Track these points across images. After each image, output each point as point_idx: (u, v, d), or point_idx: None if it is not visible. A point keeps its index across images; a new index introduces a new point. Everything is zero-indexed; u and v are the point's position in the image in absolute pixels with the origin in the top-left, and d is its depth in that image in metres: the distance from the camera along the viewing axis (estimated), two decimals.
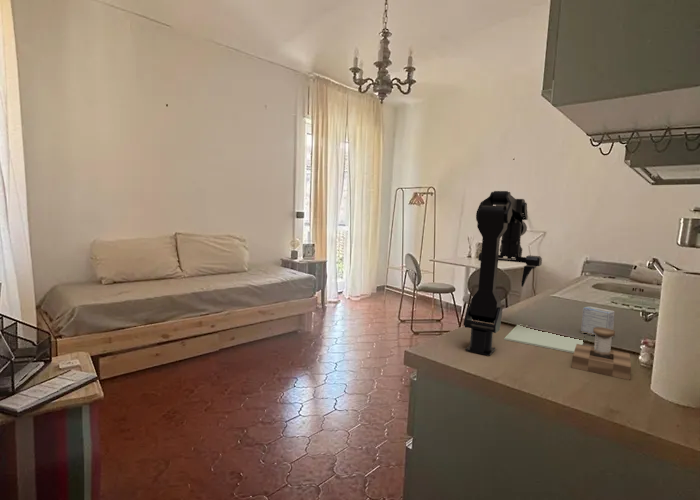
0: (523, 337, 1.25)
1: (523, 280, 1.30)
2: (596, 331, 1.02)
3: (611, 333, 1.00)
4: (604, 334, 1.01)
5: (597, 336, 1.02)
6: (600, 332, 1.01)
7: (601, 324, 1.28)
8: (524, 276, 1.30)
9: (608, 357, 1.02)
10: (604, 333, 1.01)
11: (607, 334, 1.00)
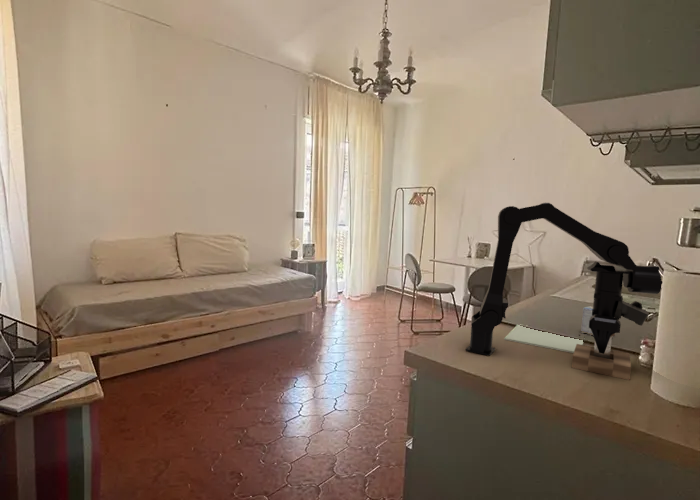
0: (523, 337, 1.25)
1: (596, 343, 1.02)
2: None
3: None
4: None
5: None
6: None
7: None
8: None
9: (608, 357, 1.02)
10: None
11: None
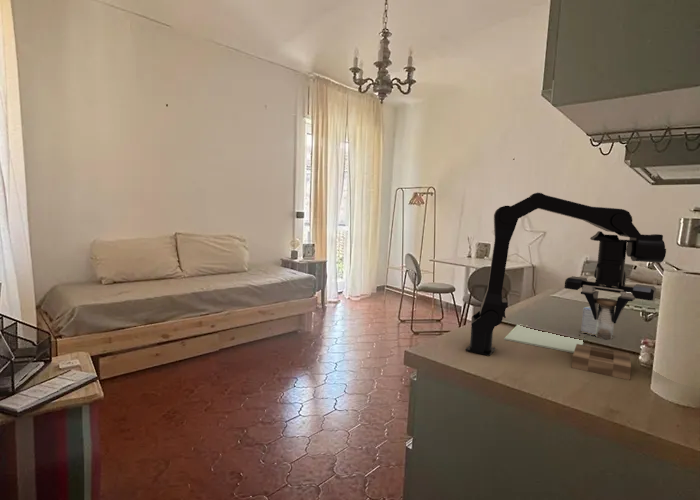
0: (523, 337, 1.25)
1: (616, 315, 1.00)
2: (613, 303, 1.00)
3: None
4: None
5: (611, 308, 1.00)
6: (616, 303, 1.00)
7: None
8: (618, 310, 0.99)
9: None
10: None
11: None
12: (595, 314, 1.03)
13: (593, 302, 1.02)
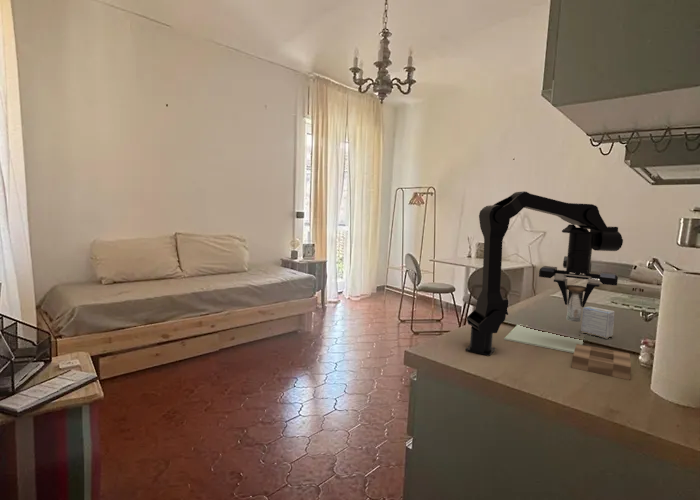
0: (523, 337, 1.25)
1: (585, 300, 1.11)
2: (582, 289, 1.11)
3: None
4: None
5: (580, 293, 1.11)
6: None
7: (601, 324, 1.28)
8: (586, 295, 1.10)
9: None
10: (585, 288, 1.12)
11: None
12: (566, 299, 1.14)
13: (564, 289, 1.13)
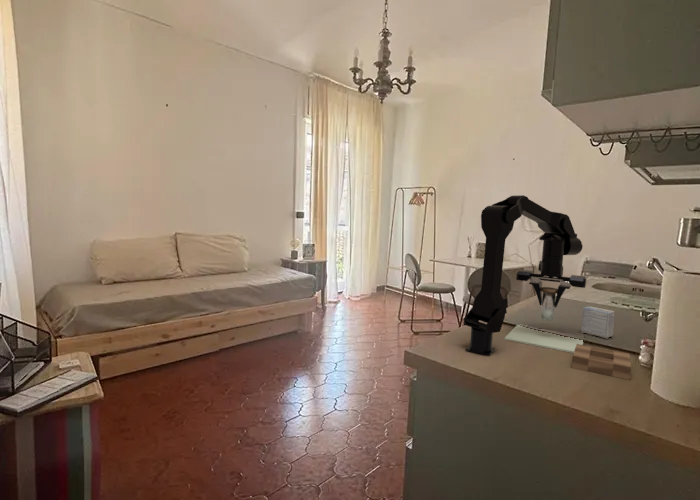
0: (523, 337, 1.25)
1: (557, 301, 1.22)
2: (555, 291, 1.22)
3: None
4: None
5: (552, 295, 1.23)
6: (557, 290, 1.23)
7: (601, 324, 1.28)
8: (558, 296, 1.22)
9: None
10: (557, 290, 1.23)
11: None
12: (540, 300, 1.25)
13: (539, 290, 1.24)
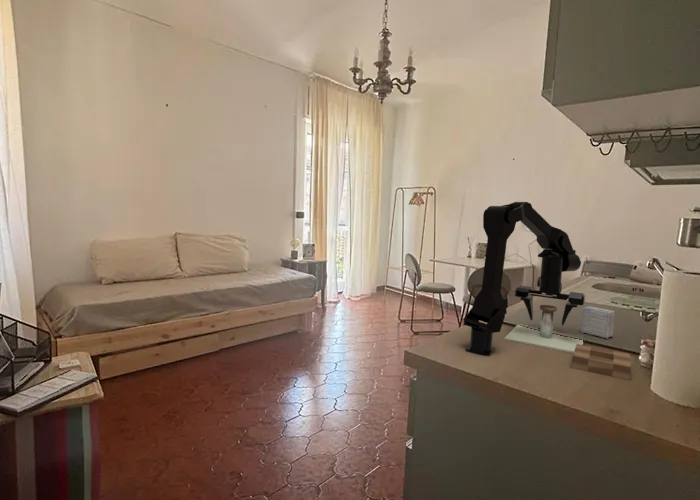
0: (523, 337, 1.25)
1: (564, 319, 1.22)
2: (553, 309, 1.23)
3: None
4: (556, 309, 1.24)
5: (551, 313, 1.23)
6: (555, 309, 1.23)
7: (601, 324, 1.28)
8: (565, 315, 1.21)
9: None
10: (556, 308, 1.24)
11: None
12: (531, 315, 1.27)
13: (530, 306, 1.26)
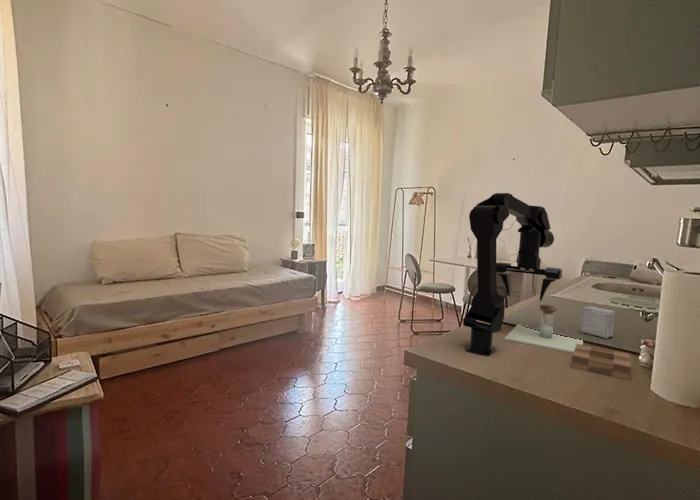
0: (523, 337, 1.25)
1: (542, 294, 1.22)
2: (553, 309, 1.23)
3: None
4: (556, 309, 1.24)
5: (551, 313, 1.23)
6: (555, 309, 1.23)
7: (601, 324, 1.28)
8: (543, 289, 1.21)
9: None
10: (556, 308, 1.24)
11: None
12: (508, 291, 1.27)
13: (507, 281, 1.26)
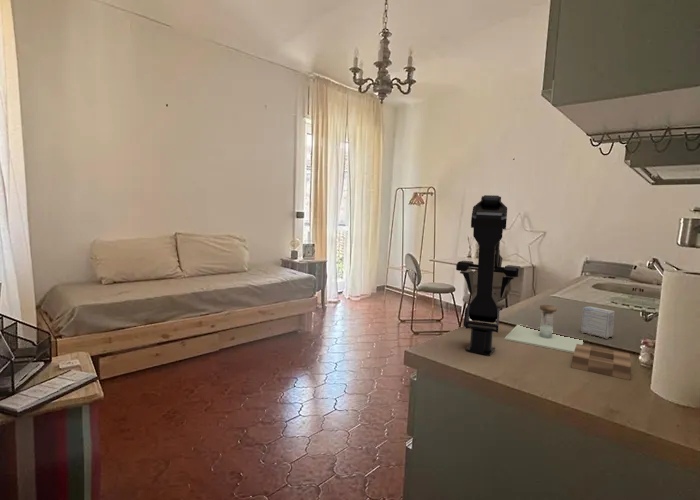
0: (523, 337, 1.25)
1: (502, 291, 1.24)
2: (553, 309, 1.23)
3: None
4: (556, 309, 1.24)
5: (551, 313, 1.23)
6: (555, 309, 1.23)
7: (601, 324, 1.28)
8: (503, 287, 1.23)
9: None
10: (556, 308, 1.24)
11: None
12: (471, 289, 1.30)
13: (469, 279, 1.29)
